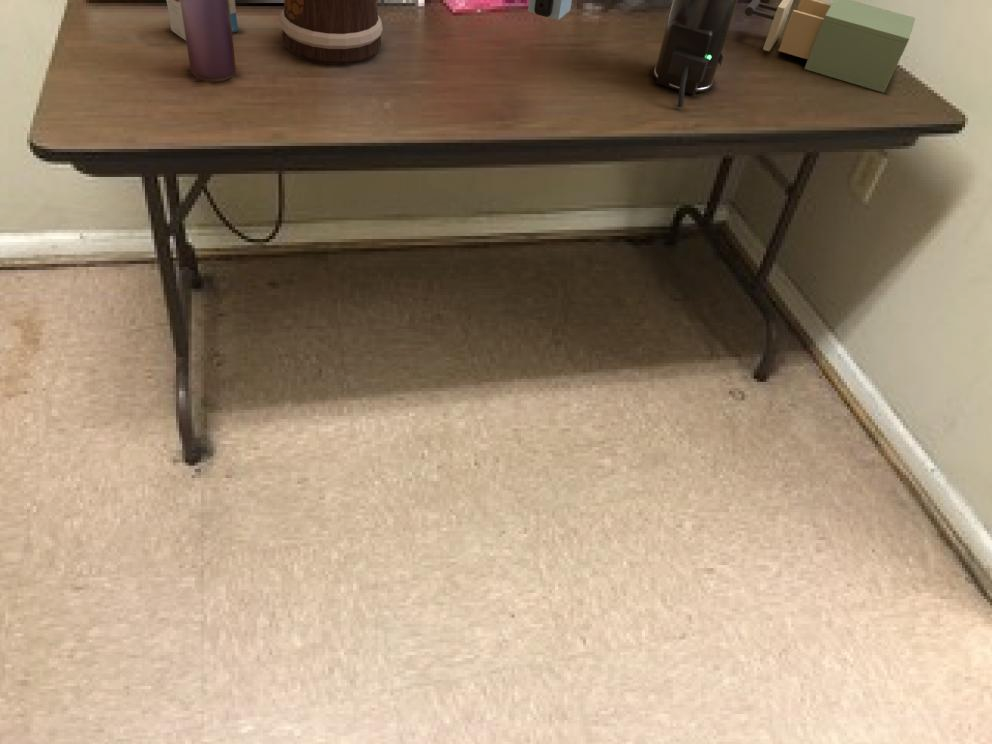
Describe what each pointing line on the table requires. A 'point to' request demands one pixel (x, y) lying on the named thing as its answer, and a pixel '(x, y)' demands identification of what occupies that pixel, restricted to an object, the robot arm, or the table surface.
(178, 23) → the ink box
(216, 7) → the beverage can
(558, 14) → the block
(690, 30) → the robot arm
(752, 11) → the drawer
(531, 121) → the table surface
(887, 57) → the cabinet
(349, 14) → the mug
